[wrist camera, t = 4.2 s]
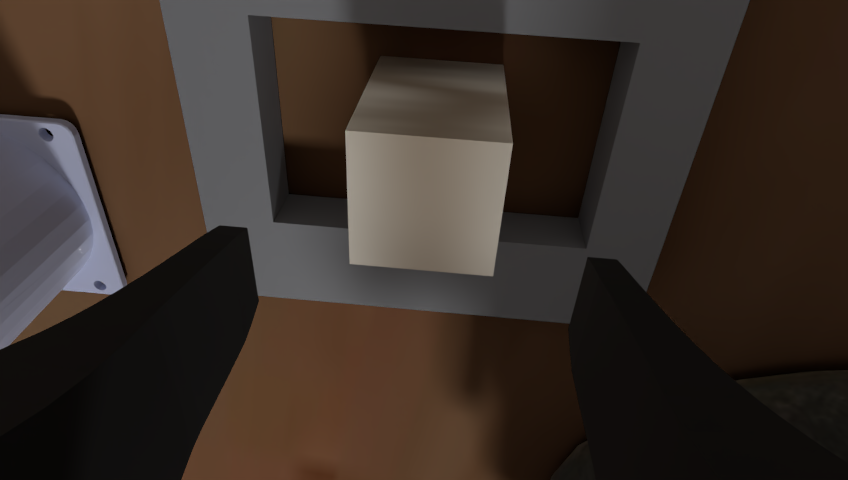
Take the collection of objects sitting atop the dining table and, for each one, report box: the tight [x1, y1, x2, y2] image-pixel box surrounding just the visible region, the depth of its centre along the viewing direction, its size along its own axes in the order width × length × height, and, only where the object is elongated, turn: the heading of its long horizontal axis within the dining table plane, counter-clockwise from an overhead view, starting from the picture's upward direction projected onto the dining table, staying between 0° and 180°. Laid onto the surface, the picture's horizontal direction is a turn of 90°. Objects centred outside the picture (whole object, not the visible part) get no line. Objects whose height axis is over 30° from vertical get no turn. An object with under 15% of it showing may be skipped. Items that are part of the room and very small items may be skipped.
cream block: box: [345, 56, 513, 276], centre depth 17 cm, size 4×4×6 cm
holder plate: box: [160, 0, 750, 324], centre depth 19 cm, size 16×14×2 cm
